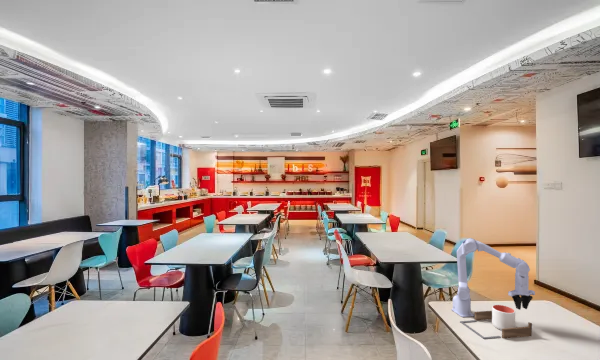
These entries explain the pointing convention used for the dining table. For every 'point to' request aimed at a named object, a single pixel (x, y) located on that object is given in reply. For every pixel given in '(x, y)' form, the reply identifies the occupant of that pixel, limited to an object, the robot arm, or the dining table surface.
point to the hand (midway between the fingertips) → (521, 308)
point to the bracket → (477, 332)
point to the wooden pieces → (506, 331)
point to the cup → (503, 317)
